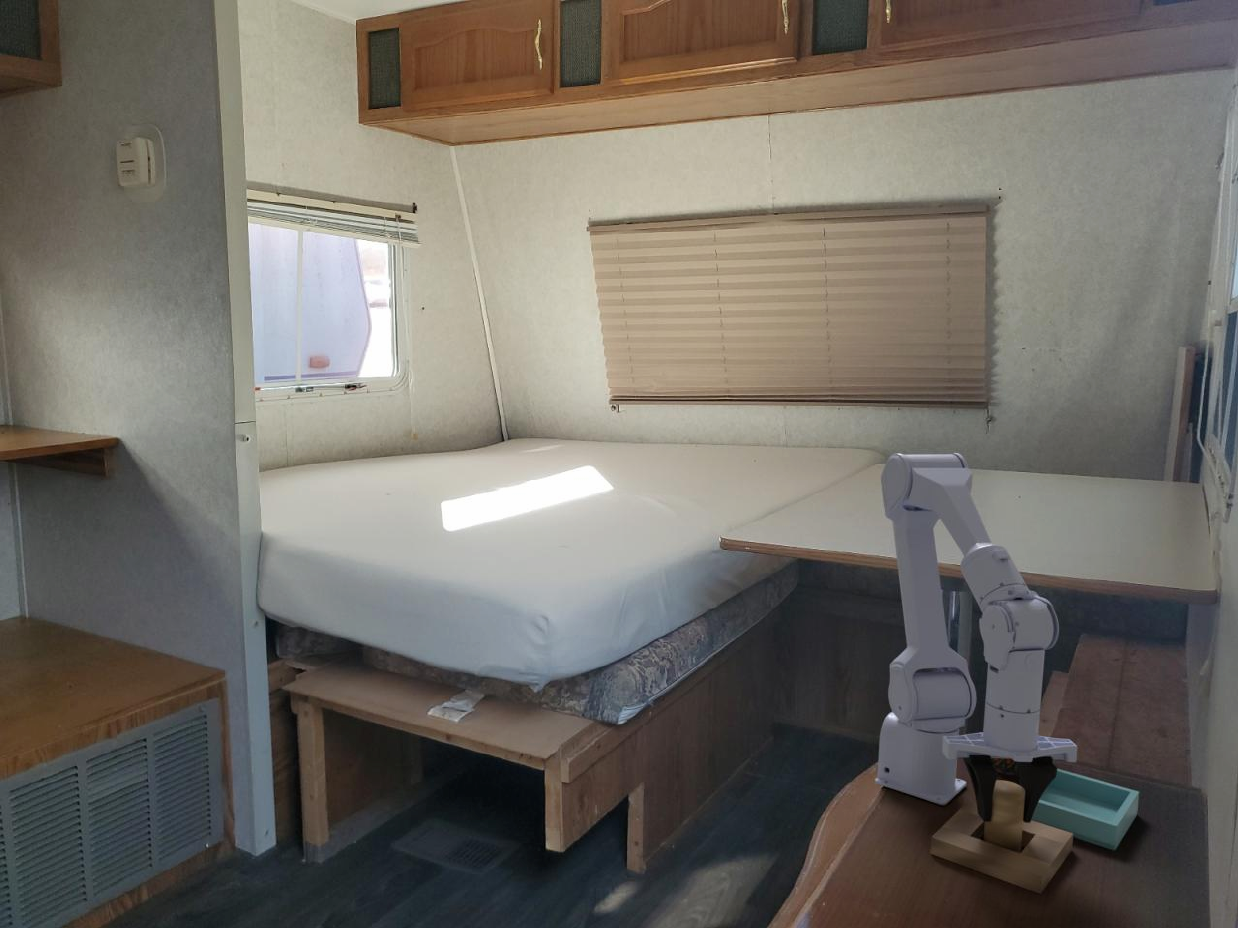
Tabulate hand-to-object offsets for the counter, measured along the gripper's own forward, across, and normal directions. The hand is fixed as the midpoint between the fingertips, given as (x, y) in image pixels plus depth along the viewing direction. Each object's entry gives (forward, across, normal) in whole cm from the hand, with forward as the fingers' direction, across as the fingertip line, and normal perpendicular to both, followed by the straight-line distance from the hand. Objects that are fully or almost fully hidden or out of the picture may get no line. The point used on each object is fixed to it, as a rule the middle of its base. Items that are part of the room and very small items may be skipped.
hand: (1003, 817), depth 108 cm
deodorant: (+4, +10, +23) cm, 25 cm away
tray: (+4, +13, +9) cm, 16 cm away
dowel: (+3, 0, 0) cm, 3 cm away
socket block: (+4, 0, 0) cm, 4 cm away
